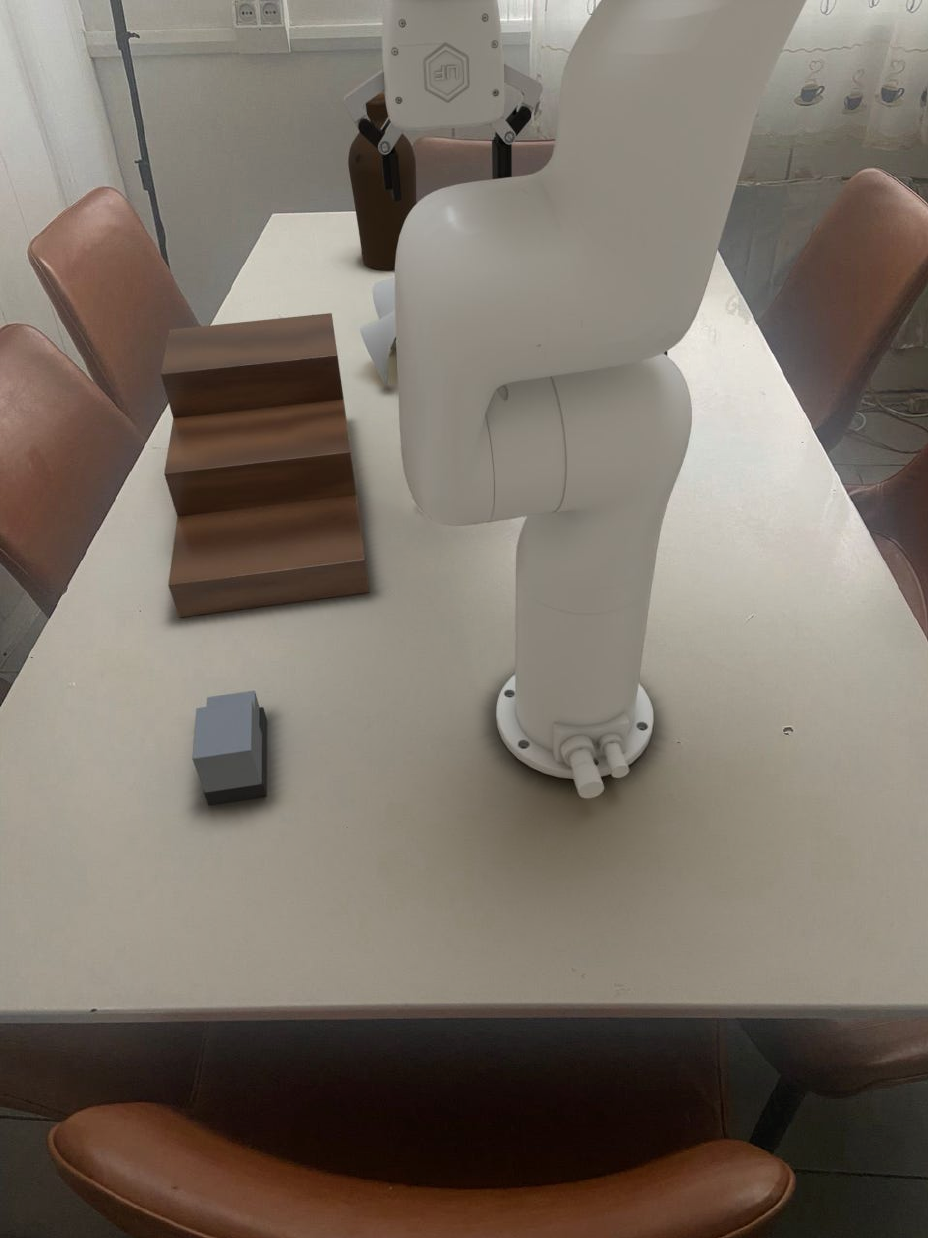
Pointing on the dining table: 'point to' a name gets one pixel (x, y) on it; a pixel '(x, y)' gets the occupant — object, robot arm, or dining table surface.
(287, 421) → the wooden step block
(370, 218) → the olive oil
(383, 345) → the sculpture
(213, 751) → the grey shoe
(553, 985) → the dining table surface
